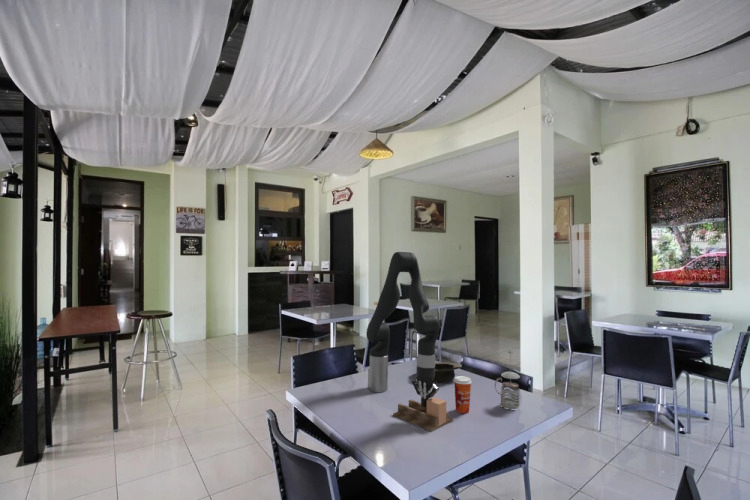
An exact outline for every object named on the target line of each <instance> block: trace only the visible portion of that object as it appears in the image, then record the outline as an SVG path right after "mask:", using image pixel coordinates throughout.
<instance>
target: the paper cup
mask: <svg viewBox="0 0 750 500" xmlns="http://www.w3.org/2000/svg"><path fill="white" fill-rule="evenodd" d="M453 382H454V398H455V399H454V400H455V411H456V413H459V414H468V413H469V412H470V407H471V406H470V405H471V404H470V403H471V389H472V388H471V387H472V379H471V378H470V377H468V376H463V375H460V376H459V375H458V376H455V377H454V379H453Z"/></svg>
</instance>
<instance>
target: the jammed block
mask: <svg viewBox="0 0 750 500" xmlns="http://www.w3.org/2000/svg"><path fill="white" fill-rule="evenodd" d="M446 412H447V401H446V400H443V399H441V398H437V397H434V396H433V397H431V398H429V400H427V414H429V415H431V416H434V417H437V418H438V425H440V424H442V423H444V422H446Z"/></svg>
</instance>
